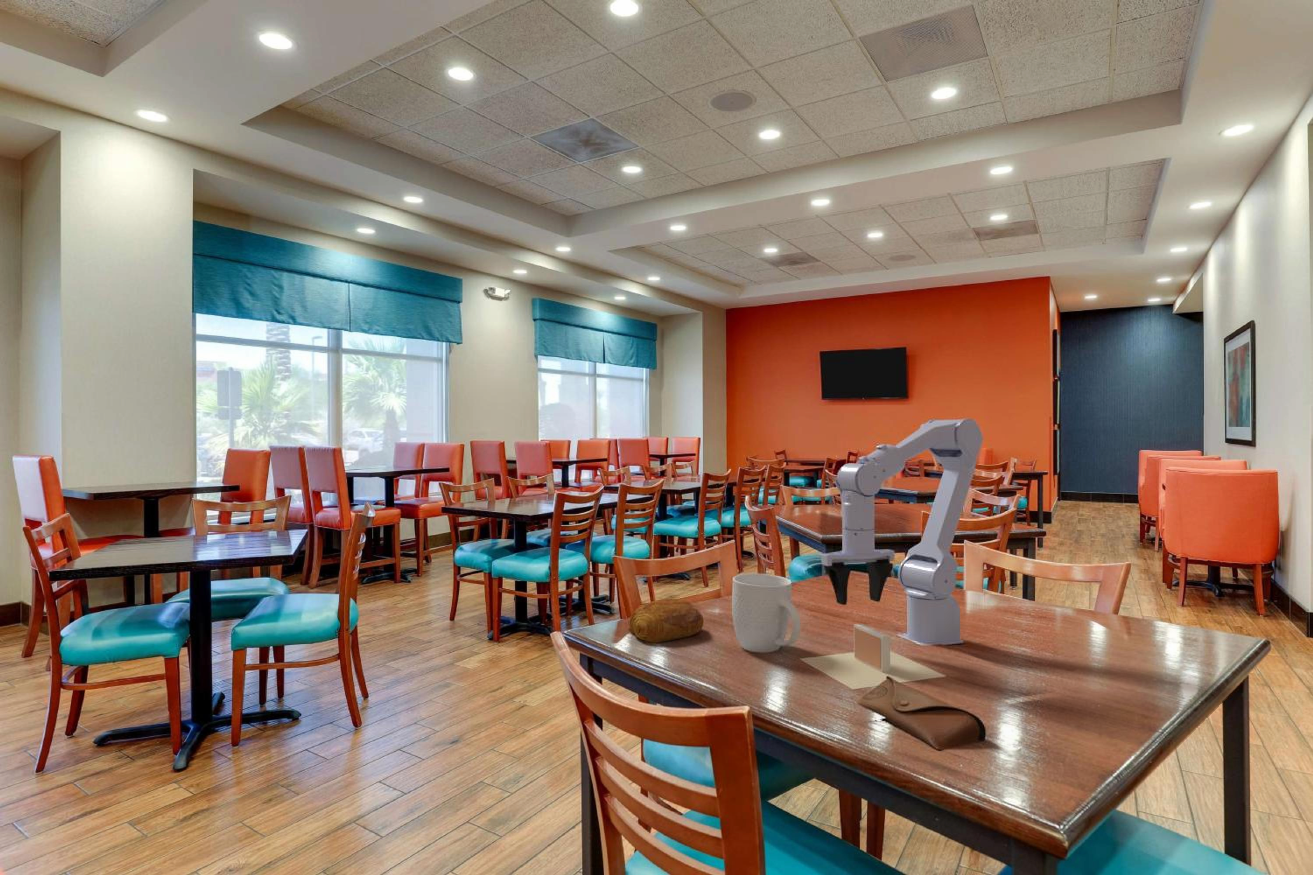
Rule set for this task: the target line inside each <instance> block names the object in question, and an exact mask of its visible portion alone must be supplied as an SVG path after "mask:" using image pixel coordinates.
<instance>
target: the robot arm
mask: <svg viewBox="0 0 1313 875" xmlns="http://www.w3.org/2000/svg"><path fill="white" fill-rule="evenodd" d="M983 441H984V436H983V434H982V431H981V429H980V426H979V424H978V423H977V422H976V420H974V419H973V418H963V419H961V418H960V419H936V418H935V419H930V420H928V421H927V422H925V423H922V424H920V427H919V429H917V430H916V431H914V432H913V433H911V434H910V435H908V436H907V437H905V438H904V439H902V441H900V442H899V443H897V444H895V445H892V444H882V443H881V444H878V445H877V446H876V447H875V448H876V450H874V451H872V452H871V453H869V454H868V455H861V456H860V457H858V460H857V461H856V463H854V462H853V463H851V462H849V463H845V464H844V465H843V466H841V467H840V469H839V470H838V472H837V476H836V477H835V478H834V484H835V486H836V488H837V490H838V492H839V495H840V496H839V499H840V500H841V506H842V508H841V510H842V511H841V512H842V513H841V516H842V517H841V518H842V522H841V526H842V527H841V529H842V531H841V532H842V538H841V539H842V542H841V543H842V546H841V548H842V550H840V551H834V552H827V553H821V565H823V567H824V570H825V571H826V573H827V575H828V578H829V580H830V583H831V584H832V588H833V591H834V595H835V599H836V603H838V604H839V605H842V606H847V602H848V584H849V578H850V574H851V571H852V570H851V568H848V567H846V565H848V564H850V565H851V564H862V563H865V566H866V569H867V574H868V588H869V589H868V590H869V599H870V600H871V601H874V602H877V603H879V602H881V597H882V594H883V589H884V587H885V584H886V581H887V579H888V577H889V575H891V573H892V571H893V569H894V564H893V563H891V562H895V550H893V549H888V548H887V549H875V547H876V546H875V495H876V494H878V493H879V491H880V489H881V488H882V485H883V484H884V482H886V481H887V480H889V479H890V478H892V477H894V476H895V475H897V474H900V473H901V472H902V471H904V468H905V467H906V466H905V465H906V461H908V460H910V459H912V458H914V457H916V456H918V455H919V454H922V453H924V452H925V451H927V450H928V451H929V452H930V453H931V455H932V456H933V458H934V459H935V460H936V462H937V463H938V464H940V465H941V466H942V468H943V473H942V476H941V479H940V481H939V484H938V488H937V490H936V494H935V498H934V499H933V504H932V506H931V510H930V513H929V515H928V516H929V517H928V519H927V522H926V525H925V529H924V530H923V531H924V532H923V535H922V538H921V541H920V542H919V543H918V544H915V545H914V546H913V547H911V548H910V549H908V552H907V554H906V556H905V558H904V559H903V560H902V561H901V563H900V565H899V567H898V570H897V578H898V582H899V584H900V586H901V587H903V590H904V592H903V593H905V594H906V596H907V597H906V610H907V611H906V618H907V619H906V629H907V630H906V631H907V632H906V633H898V634H897V636H899V637H901V638H903V639H906V640H908V641H910V642H913V643H916V644H919V645H921V646H923V647H924V646H934V645H935V646H936V645H943V646H948V645H957V644H958V645H959V644H963V643H964V640H963V639H961V609H960V604H959V602H958V599H956V597H955V596H953V595H952V594H953V592H954V590H955V588H956V585H957V570H958V567H959V563H958V562H957V560H956V559H955V557H954V556H953V554H952V553H951V552H950V550H951V547H952V544H953V541H954V539H955V535H956V532H957V529H958V525H959V521H960V519H961V516H962V512H963V510H964V506H965V503H966V500H967V496H968V493H969V490H970V487H971V484H972V480H973V477H974V474H975V470H976V464H977V460H978V457H979V453H980V450H981V448H982V444H983Z"/></svg>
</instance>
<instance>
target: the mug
mask: <svg viewBox="0 0 1313 875" xmlns="http://www.w3.org/2000/svg"><path fill="white" fill-rule="evenodd" d="M792 583H793V582H792V580H791V579H789V578H786V577H783V576H780V575H776V574H767V573H755V572H754V573H741V574H738V575H737V574H736V575H735V576H733V577H732V590H731V592H732V593H731V595H732V597H731V613H732V614H731V615H732V616H731V617H732V621H733V622H732V624H733V627H734V632H735V635H736V636H735V637H736V639H737V641H738V643H739V645H740V647H741V648H742V649H744V650H746V651H748V652H753V653H772V652H773V653H774V652H777V651H778V650H780V648H781V647H789V646H791V645H794V644H795V643H796V642H797V641H798V640H799V638H800V634H801V618H800V614H799V611H798V609H797V607H796V606H795V605H794V603H793V601H792V597H793V595H792V592H793V589H792V587H793V586H792V585H793V584H792ZM790 621H791V625H792V626H791V627H792V630H791V636H790V637H789V639H788V640H786V639H785V638H786V636H787V634H788V630H789V626H790Z"/></svg>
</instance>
